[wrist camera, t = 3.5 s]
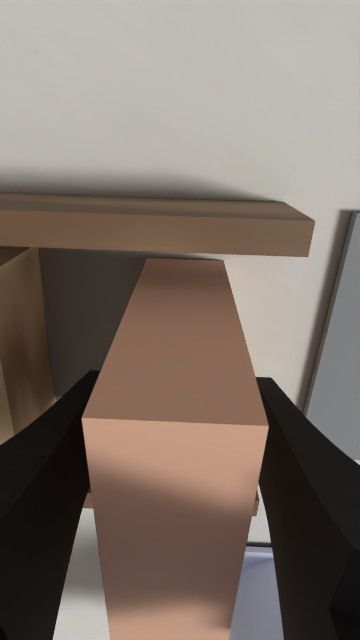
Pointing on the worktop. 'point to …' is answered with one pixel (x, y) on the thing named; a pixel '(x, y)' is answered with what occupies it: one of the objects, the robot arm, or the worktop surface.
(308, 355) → the worktop surface
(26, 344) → the offcut
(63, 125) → the worktop surface
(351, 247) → the mat
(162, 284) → the tall wooden block
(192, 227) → the rack
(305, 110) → the worktop surface
